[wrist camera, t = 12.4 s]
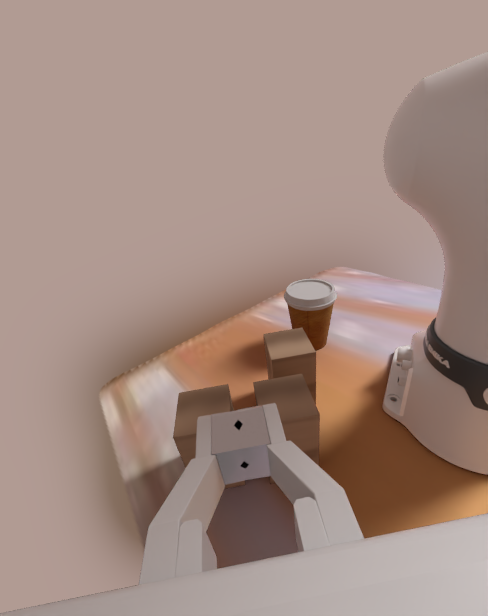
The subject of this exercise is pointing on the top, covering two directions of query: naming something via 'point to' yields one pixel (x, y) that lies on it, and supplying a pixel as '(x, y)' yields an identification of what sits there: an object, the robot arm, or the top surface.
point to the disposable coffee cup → (311, 308)
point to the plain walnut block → (187, 416)
